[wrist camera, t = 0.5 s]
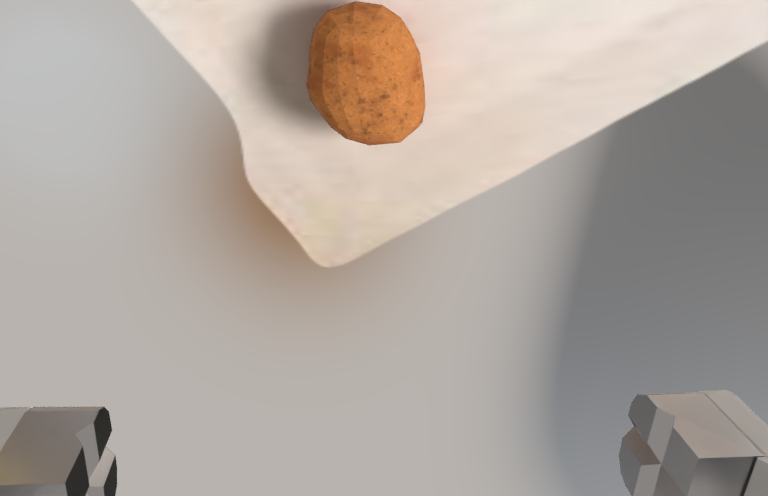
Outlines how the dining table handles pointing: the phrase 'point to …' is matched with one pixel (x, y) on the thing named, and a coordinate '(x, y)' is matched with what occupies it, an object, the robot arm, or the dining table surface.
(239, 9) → the dining table surface
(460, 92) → the dining table surface
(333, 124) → the potato
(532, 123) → the dining table surface
